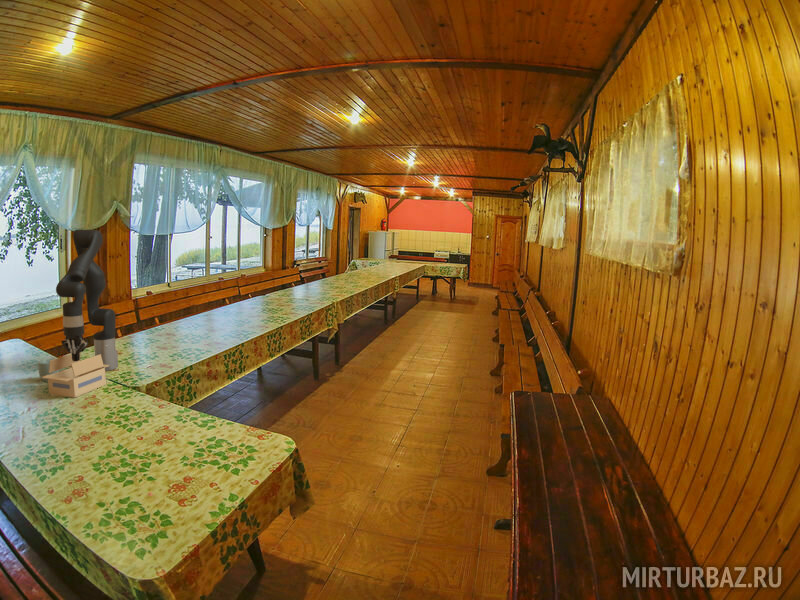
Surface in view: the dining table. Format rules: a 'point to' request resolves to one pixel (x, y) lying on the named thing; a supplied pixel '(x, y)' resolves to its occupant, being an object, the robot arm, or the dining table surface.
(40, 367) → the cup
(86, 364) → the flap
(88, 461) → the dining table surface
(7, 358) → the dining table surface
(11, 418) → the dining table surface
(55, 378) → the carton
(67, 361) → the flap
